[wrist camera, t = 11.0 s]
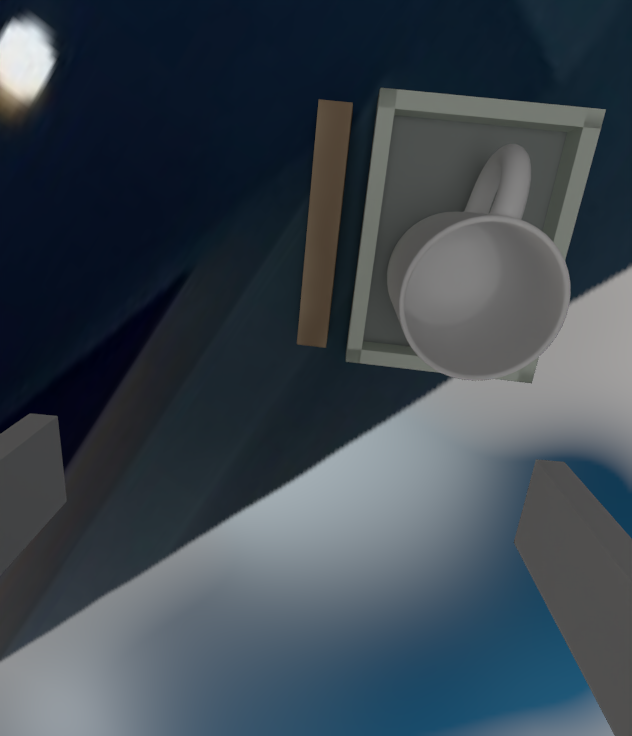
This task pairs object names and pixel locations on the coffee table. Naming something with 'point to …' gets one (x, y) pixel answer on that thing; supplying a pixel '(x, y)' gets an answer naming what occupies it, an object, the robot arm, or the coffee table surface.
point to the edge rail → (324, 220)
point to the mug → (481, 279)
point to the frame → (456, 190)
